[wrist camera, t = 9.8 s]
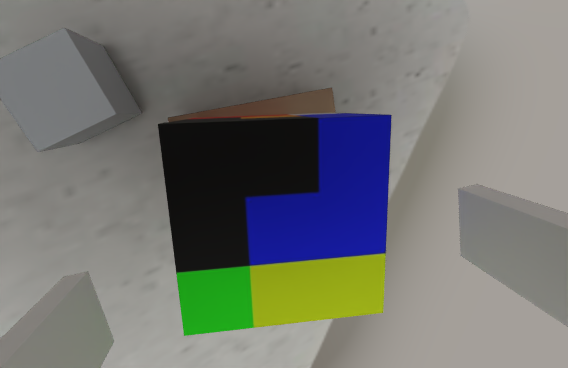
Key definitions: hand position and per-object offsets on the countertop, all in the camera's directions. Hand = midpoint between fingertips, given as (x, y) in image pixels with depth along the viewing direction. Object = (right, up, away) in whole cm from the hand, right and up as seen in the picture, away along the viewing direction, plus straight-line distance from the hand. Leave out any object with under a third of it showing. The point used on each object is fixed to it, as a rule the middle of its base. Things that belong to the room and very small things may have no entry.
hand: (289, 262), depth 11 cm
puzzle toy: (-2, +3, +13) cm, 14 cm away
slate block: (-17, +10, +16) cm, 25 cm away
